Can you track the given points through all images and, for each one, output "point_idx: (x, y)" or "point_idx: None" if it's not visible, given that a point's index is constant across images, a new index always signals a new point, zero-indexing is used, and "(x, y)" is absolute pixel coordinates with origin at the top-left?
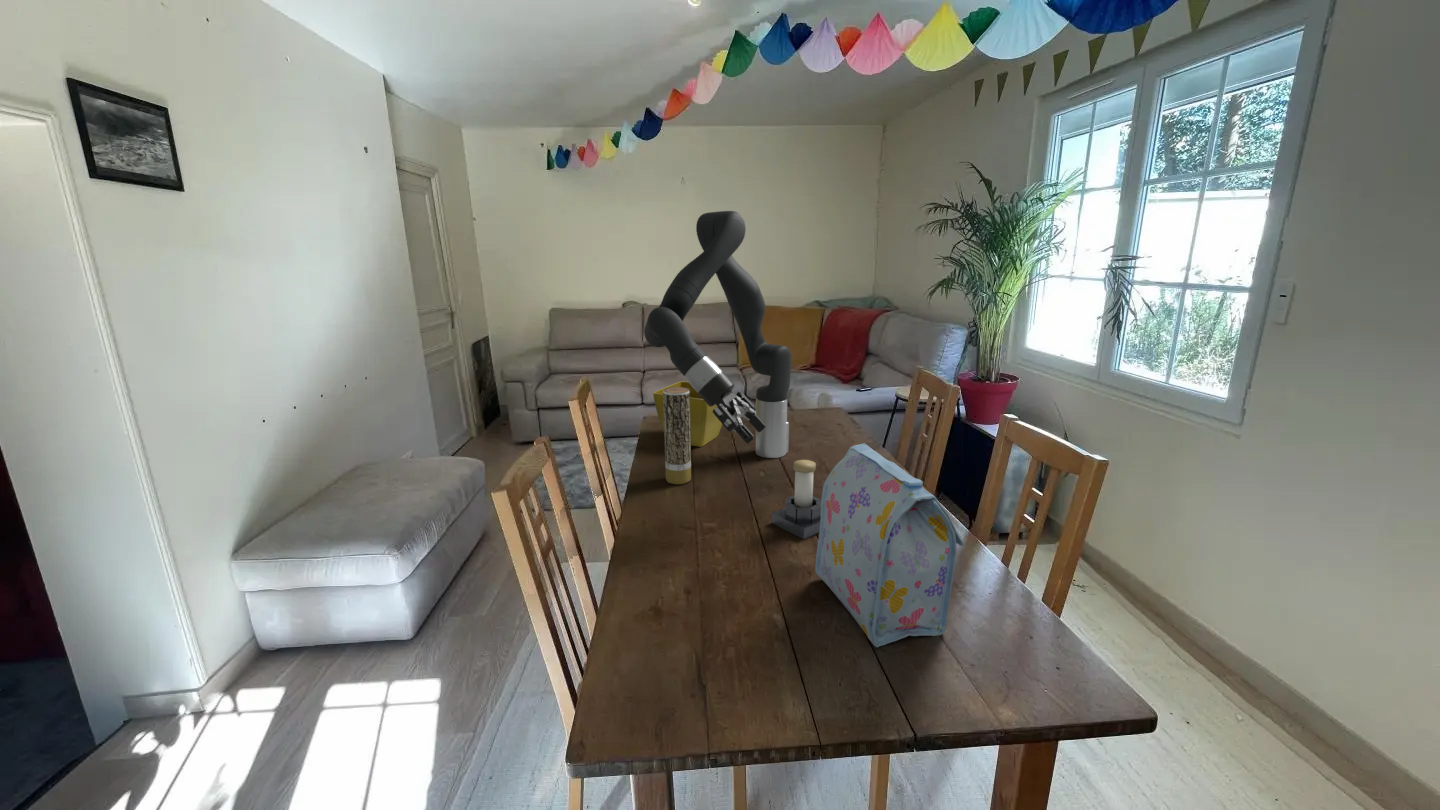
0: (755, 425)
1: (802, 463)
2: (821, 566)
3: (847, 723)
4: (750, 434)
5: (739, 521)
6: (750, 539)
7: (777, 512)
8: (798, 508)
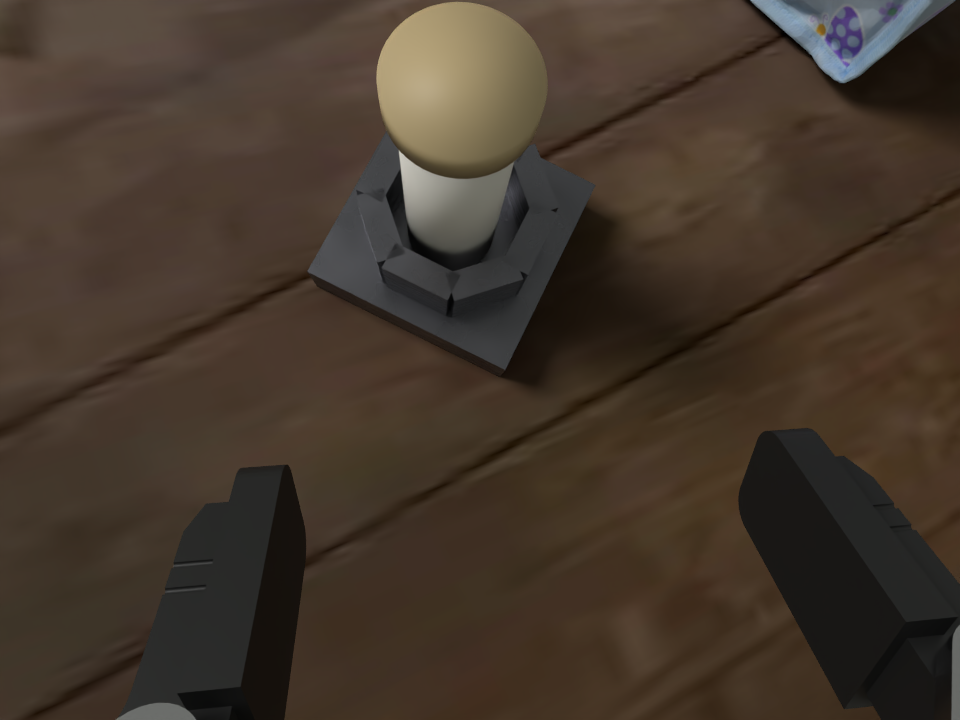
0: (287, 618)
1: (467, 94)
2: (930, 18)
3: None
4: (838, 469)
5: (546, 521)
6: (681, 406)
7: (489, 344)
8: (547, 203)
